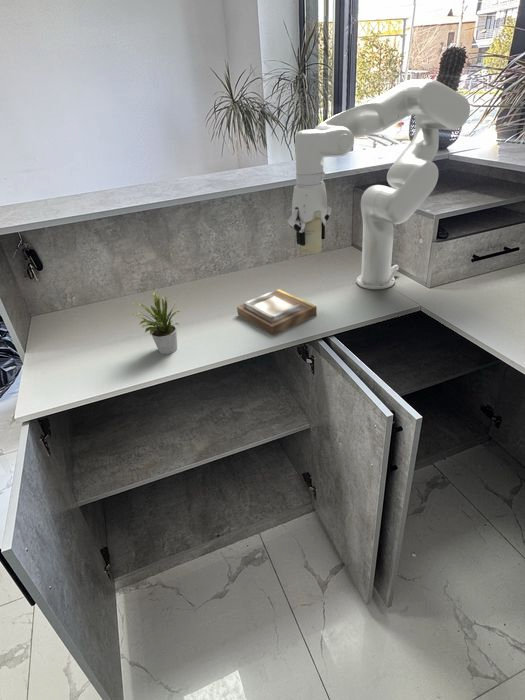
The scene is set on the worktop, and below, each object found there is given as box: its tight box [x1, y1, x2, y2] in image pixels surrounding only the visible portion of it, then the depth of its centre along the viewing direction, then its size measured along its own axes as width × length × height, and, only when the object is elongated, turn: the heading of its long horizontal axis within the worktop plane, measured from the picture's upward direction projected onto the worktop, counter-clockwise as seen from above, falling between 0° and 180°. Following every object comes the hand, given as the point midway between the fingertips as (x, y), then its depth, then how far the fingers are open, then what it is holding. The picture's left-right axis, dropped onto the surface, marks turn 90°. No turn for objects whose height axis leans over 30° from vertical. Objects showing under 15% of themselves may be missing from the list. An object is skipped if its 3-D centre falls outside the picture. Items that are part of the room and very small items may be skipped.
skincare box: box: [299, 211, 322, 255], centre depth 129 cm, size 6×4×12 cm
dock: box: [236, 288, 318, 337], centre depth 134 cm, size 17×18×4 cm
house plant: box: [131, 291, 181, 355], centre depth 120 cm, size 14×14×16 cm
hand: (310, 241), depth 131 cm, fingers closed on skincare box, 7 cm apart
